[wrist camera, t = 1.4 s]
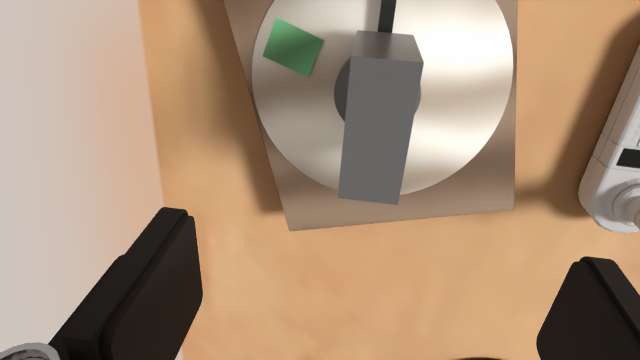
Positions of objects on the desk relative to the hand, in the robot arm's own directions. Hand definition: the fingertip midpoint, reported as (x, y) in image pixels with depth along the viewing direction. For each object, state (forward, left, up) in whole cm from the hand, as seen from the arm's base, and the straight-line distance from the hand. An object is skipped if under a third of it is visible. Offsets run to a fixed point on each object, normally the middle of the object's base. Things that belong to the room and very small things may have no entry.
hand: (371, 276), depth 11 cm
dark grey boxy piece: (+1, -1, -17) cm, 17 cm away
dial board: (0, 0, -20) cm, 20 cm away
